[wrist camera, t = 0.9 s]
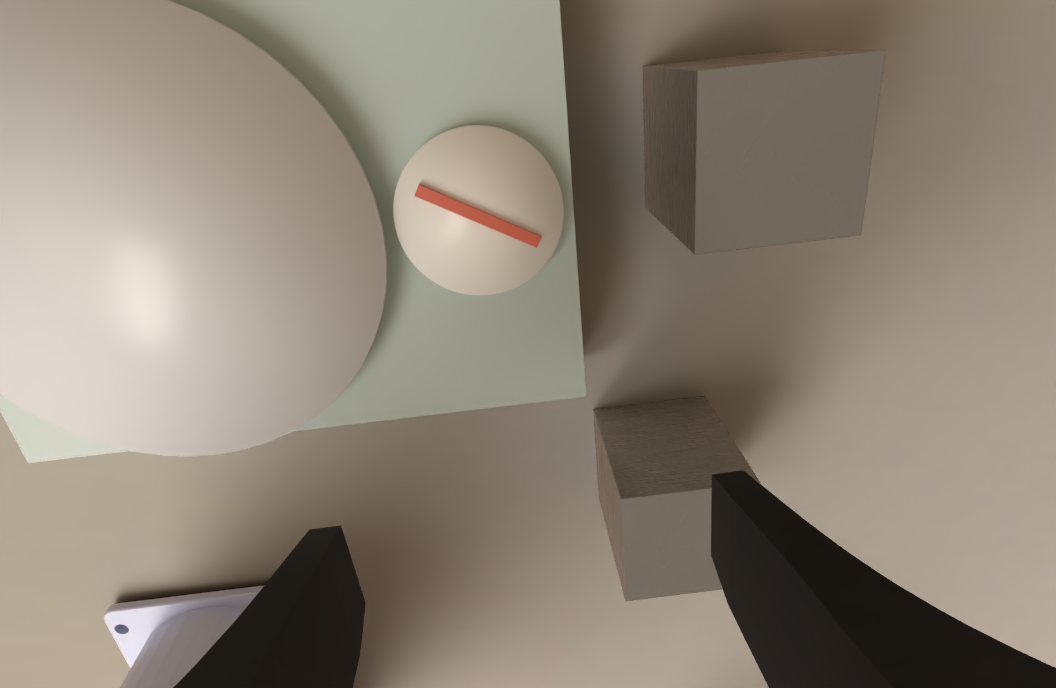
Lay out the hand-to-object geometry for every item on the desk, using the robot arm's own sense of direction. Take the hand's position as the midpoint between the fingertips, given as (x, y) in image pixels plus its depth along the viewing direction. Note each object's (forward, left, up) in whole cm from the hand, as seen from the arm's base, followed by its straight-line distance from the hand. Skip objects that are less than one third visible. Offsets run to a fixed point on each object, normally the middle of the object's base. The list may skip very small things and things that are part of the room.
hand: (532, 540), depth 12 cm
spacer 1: (-5, -5, -10) cm, 12 cm away
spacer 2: (+6, -7, -10) cm, 13 cm away
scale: (+5, +6, -10) cm, 12 cm away
